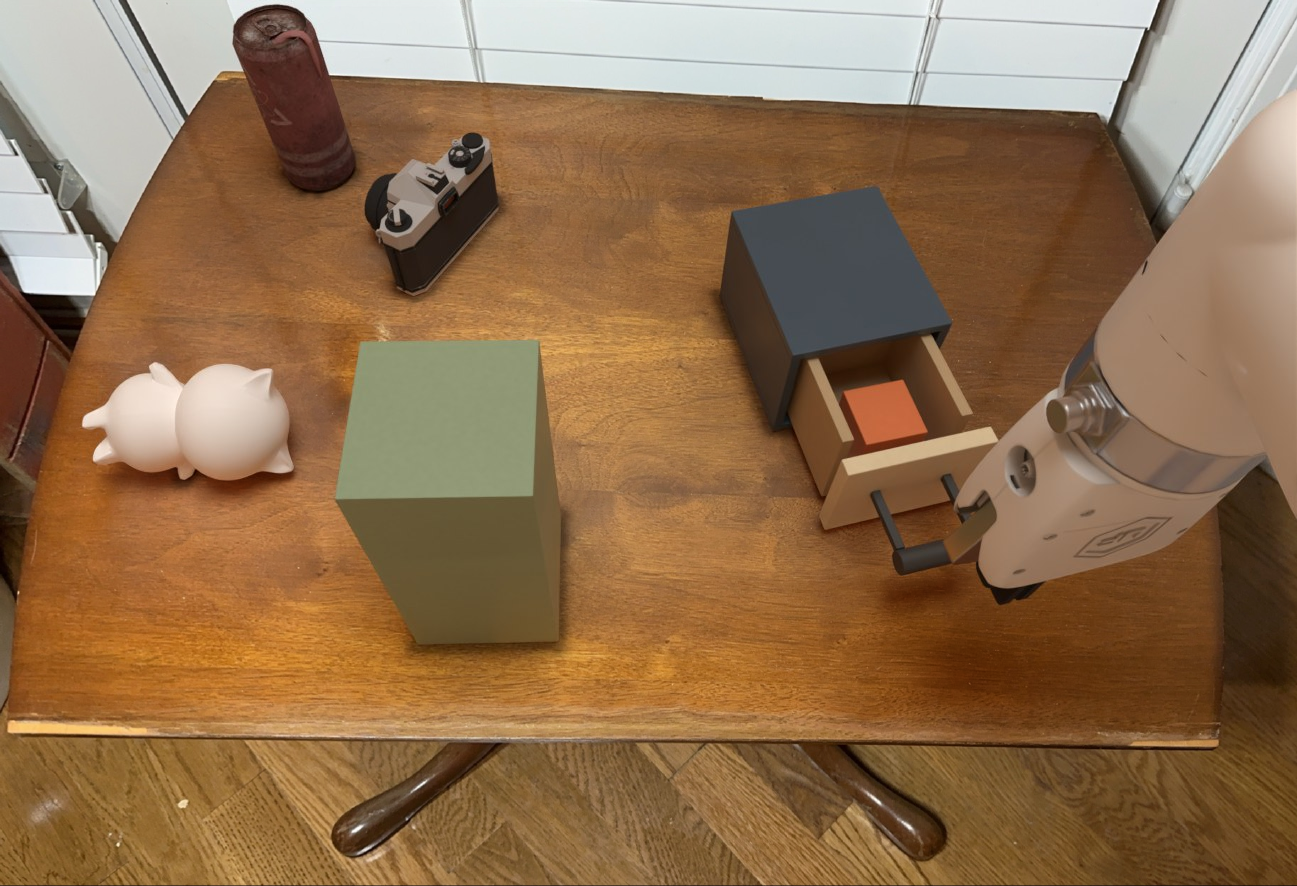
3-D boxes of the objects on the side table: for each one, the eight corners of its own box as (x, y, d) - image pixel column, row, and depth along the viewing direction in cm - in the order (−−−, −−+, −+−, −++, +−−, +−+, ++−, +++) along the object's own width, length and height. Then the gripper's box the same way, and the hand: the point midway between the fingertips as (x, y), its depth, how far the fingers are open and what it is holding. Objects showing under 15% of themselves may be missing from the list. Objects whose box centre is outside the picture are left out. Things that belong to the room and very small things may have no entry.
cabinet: (914, 401, 69) (953, 323, 61) (772, 431, 68) (792, 355, 60) (850, 270, 76) (877, 185, 68) (719, 295, 74) (731, 210, 66)
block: (910, 465, 64) (928, 431, 61) (851, 477, 64) (866, 444, 60) (887, 413, 66) (903, 378, 63) (830, 425, 66) (842, 390, 62)
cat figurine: (57, 387, 57) (250, 383, 57) (140, 330, 66) (306, 327, 66) (97, 509, 61) (278, 505, 61) (170, 439, 70) (327, 436, 70)
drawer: (997, 572, 61) (1042, 521, 55) (855, 608, 60) (884, 560, 53) (892, 359, 70) (920, 293, 64) (766, 385, 69) (781, 320, 62)
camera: (435, 171, 81) (409, 89, 73) (511, 199, 79) (493, 118, 71) (351, 278, 76) (313, 202, 68) (431, 311, 74) (402, 237, 66)
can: (346, 198, 79) (297, 55, 67) (275, 188, 79) (214, 44, 67) (369, 150, 82) (326, 5, 70) (300, 141, 82) (246, -5, 70)
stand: (558, 641, 59) (533, 496, 42) (417, 644, 59) (333, 499, 42) (561, 516, 64) (539, 339, 47) (430, 518, 63) (359, 341, 46)
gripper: (1041, 525, 32) (900, 675, 48) (1400, 438, 34) (1152, 608, 50) (953, 355, 36) (849, 547, 52) (1282, 287, 38) (1086, 490, 54)
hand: (999, 577), depth 51 cm, fingers closed
